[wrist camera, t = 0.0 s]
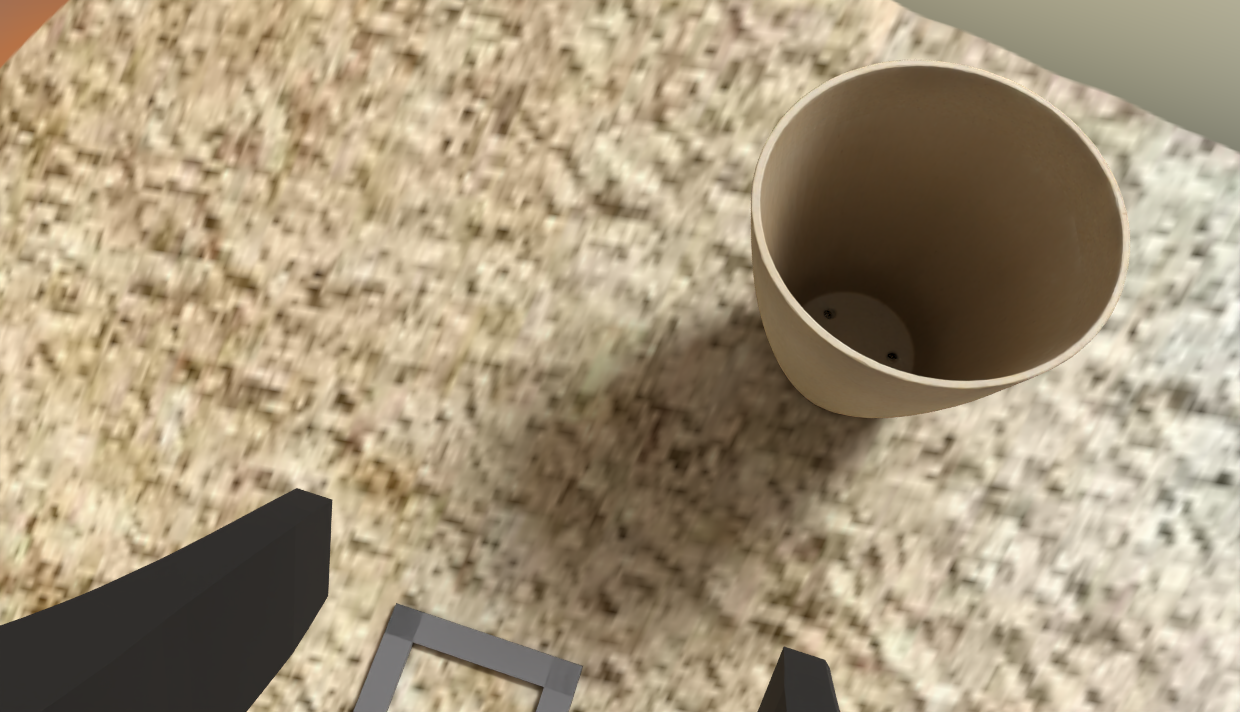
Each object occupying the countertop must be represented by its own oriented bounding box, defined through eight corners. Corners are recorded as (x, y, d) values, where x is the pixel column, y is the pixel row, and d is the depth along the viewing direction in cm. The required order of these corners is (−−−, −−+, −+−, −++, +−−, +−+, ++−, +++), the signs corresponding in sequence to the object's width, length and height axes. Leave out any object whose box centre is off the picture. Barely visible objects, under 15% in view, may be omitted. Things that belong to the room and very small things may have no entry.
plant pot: (662, 329, 50) (676, 174, 35) (857, 198, 53) (946, 5, 38) (832, 541, 46) (931, 465, 31) (1034, 385, 49) (1213, 247, 34)
